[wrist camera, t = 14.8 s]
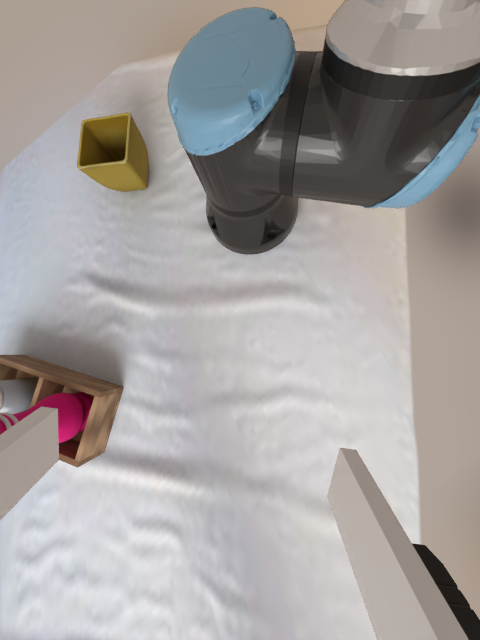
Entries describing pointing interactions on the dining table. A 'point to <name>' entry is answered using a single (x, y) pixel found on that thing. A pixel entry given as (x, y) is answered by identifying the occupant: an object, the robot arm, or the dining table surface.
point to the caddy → (71, 382)
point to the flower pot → (113, 152)
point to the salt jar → (17, 394)
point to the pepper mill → (69, 413)
